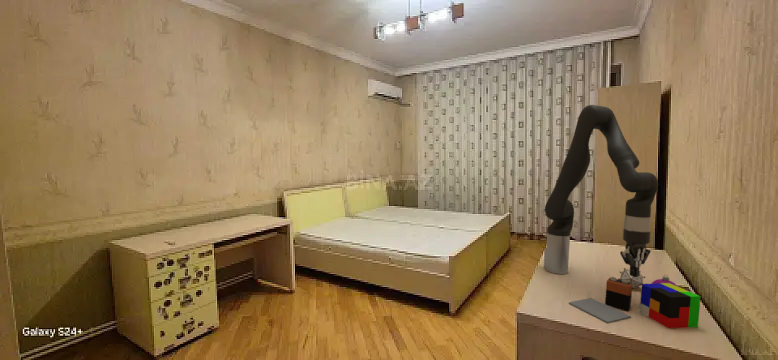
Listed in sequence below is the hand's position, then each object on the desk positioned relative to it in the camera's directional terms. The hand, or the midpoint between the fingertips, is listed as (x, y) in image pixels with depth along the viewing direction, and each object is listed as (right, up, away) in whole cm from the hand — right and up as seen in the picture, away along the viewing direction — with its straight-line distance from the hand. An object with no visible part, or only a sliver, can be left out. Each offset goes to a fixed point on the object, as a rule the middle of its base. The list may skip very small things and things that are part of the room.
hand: (634, 276), depth 112 cm
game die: (+10, -9, +14) cm, 20 cm away
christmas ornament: (+13, -10, +2) cm, 17 cm away
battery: (-7, -10, -2) cm, 13 cm away
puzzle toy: (+3, -11, -10) cm, 15 cm away
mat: (-16, -10, -5) cm, 19 cm away
